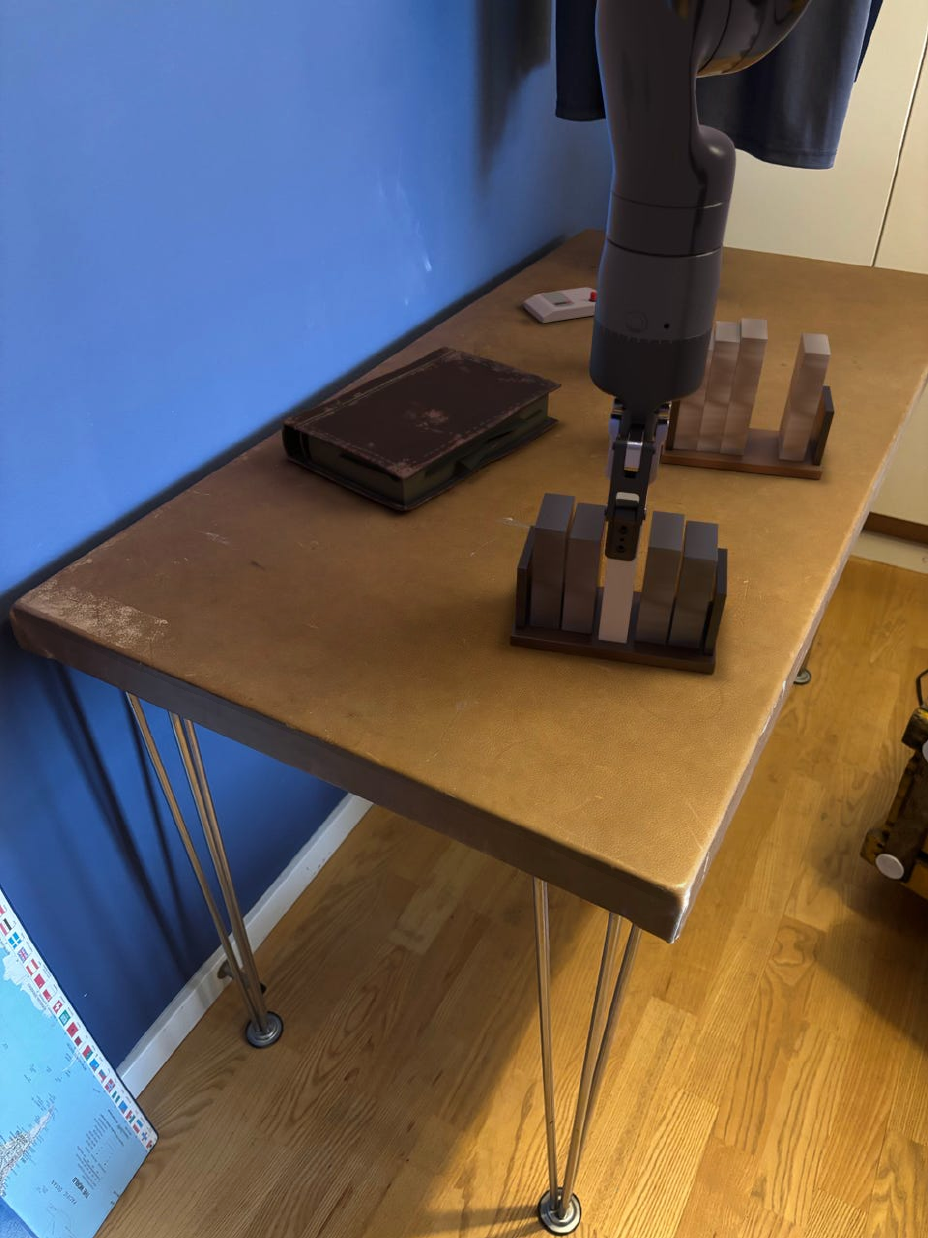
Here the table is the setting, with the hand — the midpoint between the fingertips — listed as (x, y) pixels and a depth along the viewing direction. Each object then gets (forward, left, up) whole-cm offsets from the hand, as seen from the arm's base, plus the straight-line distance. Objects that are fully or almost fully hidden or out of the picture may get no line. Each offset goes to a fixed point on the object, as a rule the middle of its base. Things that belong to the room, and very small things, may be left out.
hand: (625, 525), depth 68 cm
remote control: (+13, -69, -10) cm, 71 cm away
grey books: (0, 0, -10) cm, 10 cm away
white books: (-10, -32, -10) cm, 35 cm away
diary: (+23, -27, -10) cm, 37 cm away
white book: (0, 0, -9) cm, 9 cm away
